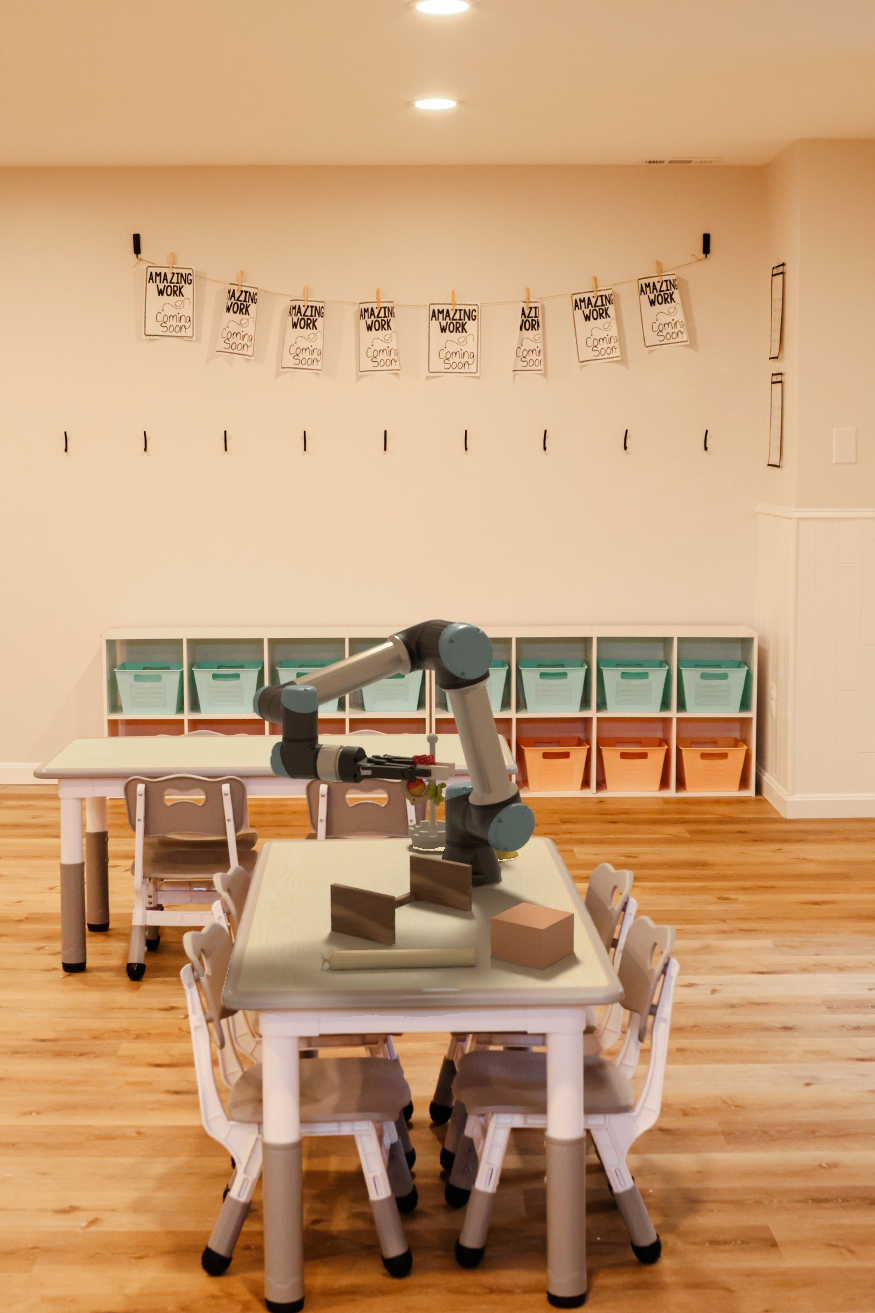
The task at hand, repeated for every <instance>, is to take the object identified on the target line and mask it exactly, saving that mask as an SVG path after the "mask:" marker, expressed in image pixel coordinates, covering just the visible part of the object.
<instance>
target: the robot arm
mask: <svg viewBox="0 0 875 1313" xmlns="http://www.w3.org/2000/svg"><path fill="white" fill-rule="evenodd" d="M493 659H494V648H493V643H492V642H491V640H490V638H489V636H488V635H487V634H486V633H485V631H483V630H482V629H481V628H479V627H477V626H475V625H473V624H471V623H467V622H461V621H460V622H459V621H458V622H456V621H449V620H445V619H430V620H426V621H423V622H420V623H417V624H415V625H413V626H410V627H408V628H404V629H403V630H400V631H397V632H396V633H393V634H390V635H388V637H387V639H386V641H385V642H383V643H380V644H378V645H375V646H373V647H370V648H368V649H366V650H364V651H361V652H359V653H356V654H354V655H350V656H349V657H346V658H343V659H341V660H339V661H337V662H334V663H331V664H329V665H326V666H324V667H321V668H320V669H317V670H314V671H312V672H309V673H307V674H305V675H302V676H299V677H297V678H295V679H292V680H290V681H287V682H284V683H282V684H279V685H277V686H276V685H265V686H262V687H261V688H259V689H258V690H257V691H256V692H255V694H254V696H253V698H252V708H253V710H254V712H255V714H256V715H257V716H258V717H260V718H261V719H262V720H263V721H266V722H267V723H268V722H269V723H272V724H275V725H278V726H281V729H282V730H281V732H282V735H281V736H282V737H281V738H282V739H281V741H278V742H275V744H273V746H272V749H271V755H270V758H269V764H270V768H271V770H272V772H273V774H274V775H275V776H277V777H279V778H281V777H282V778H288V779H293V780H309V781H310V780H312V781H321V782H322V781H324V782H325V781H327V782H328V784H330V785H331V784H333V783H334V782H336V783H337V782H339V783H340V782H343V783H349V784H359V783H361V782H363V780H365V779H375V780H376V779H377V780H378V779H379V780H394V781H396V780H398V781H401V780H405V781H407V780H409V778H410V779H411V782H415V777H417V779H422V780H427V779H430V780H436V781H443V782H444V781H445V782H448V781H449V777H453V778H454V777H455V776H456V762H450V761H449V762H448V761H436V760H435V762H436V766H432V765H417V766H416V765H415V763H414V761H413V760H412V757H413V756H400V755H391V754H388V753H387V754H386V753H385V754H383V755H380V754H372V755H371V756H368V755H367V754H366V753H367V752H366V751H365V749H364V748H363V747H362V746H351V745H345V746H344V745H341V744H340V745H339V744H323V743H322V744H321V743H319V707H320V706H323V705H325V704H328V703H330V702H332V701H335V700H337V699H340V698H342V697H343V696H344V697H345V696H347V695H349V694H352V693H354V692H356V691H358V690H361V689H364V688H365V687H369V686H371V685H373V684H375V683H378V682H381V681H383V680H385V679H387V678H390V677H392V676H395V675H398V674H401V675H403V676H406V675H409V674H411V673H414V672H417V671H433V672H435V676H436V679H437V684H438V686H439V689H440V690H441V691H443V692H444V693H446V694H447V695H448V699H449V702H450V708H451V710H452V714H453V719H454V721H455V725H456V729H457V733H458V737H459V740H460V741H459V742H460V745H461V748H462V754H463V757H464V760H465V763H466V769H467V773H468V776H469V780H470V781H467V782H466V781H465V782H458V783H453V784H450V785H449V786H446V788H445V794H444V801H443V802H444V821H445V849H444V851H442V855H441V858H440V859H442V860H447V861H452V862H457V863H463V864H468V865H472V887H481V886H482V887H483V886H489V885H492V884H495V883H497V882H499V881H500V880H502V868H501V865H500V862H499V861H498V858H497V854H496V851H495V850H501V851H504V852H513V851H518V850H520V849H522V848H524V846H525V845H526V844H528V843H529V841H530V839H531V836H532V835H533V834H534V831H535V827H536V818H535V814H534V812H533V810H532V809H531V807H529V805H527V804H526V803H524V802H523V801H522V798H521V793H520V789H519V786H518V785H517V784H516V783H515V782H513V781H511V780H510V777H509V773H508V768H507V765H506V761H505V757H504V754H503V749H502V746H501V741H500V736H499V734H498V730H497V726H496V722H495V717H494V713H493V709H492V706H491V701H490V697H489V693H488V690H487V682H488V680H489V679H490V677H491V673H490V668H491V662H492V661H493ZM416 767H417V768H416Z"/></svg>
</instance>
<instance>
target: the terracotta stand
mask: <svg viewBox="0 0 875 1313" xmlns="http://www.w3.org/2000/svg"><path fill="white" fill-rule="evenodd" d="M574 948H575V912H570V911H565V910H560V909H557V908H551V907H547V906H543V905H537V904H533V903H528V902H521V903H518V904H517V905H514V906H513V907H511V908H508V909H506V910H504V911H502V912H500V913H498V914H496V915H494V916H492V917H490V958H494V959H498V960H503V961H507V962H509V963H510V962H511V963H514V964H515V963H516V964H519V965H523V966H527V967H532V968H535V969H539V970H544V969H545V968H547V967H549V966H552V964H555V963H557V962H558V961H560V960H562V959H564V958H565V957H567V956H569V955H570V954H572V953H574V952H575V951H574Z"/></svg>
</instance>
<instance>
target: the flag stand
mask: <svg viewBox="0 0 875 1313" xmlns="http://www.w3.org/2000/svg"><path fill="white" fill-rule="evenodd" d="M426 741H427V743H428V744H429V755H431V754H433V755H434V760H435V761H436V744H437V743H438V741H439V737H438V734H436V733H434V732H431V733H429V734H427V736H426ZM436 806H437V805H435V804H434V798H433V799H432V800H430V799H429V820H428V819H427V820H426V819H425V820H419V825H417V824H416V822H412V823H409V824H408V827H407V835H408V838H410V839H411V846H412V845H413V846H414V847H418V848H422V849H435V848H438V847H445V820H441V819H440V820H439V819H438V820H436V819H437V816H436V815H437V814H436V812H437V811H436V808H437V807H436ZM436 823H437V824H436Z"/></svg>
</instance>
